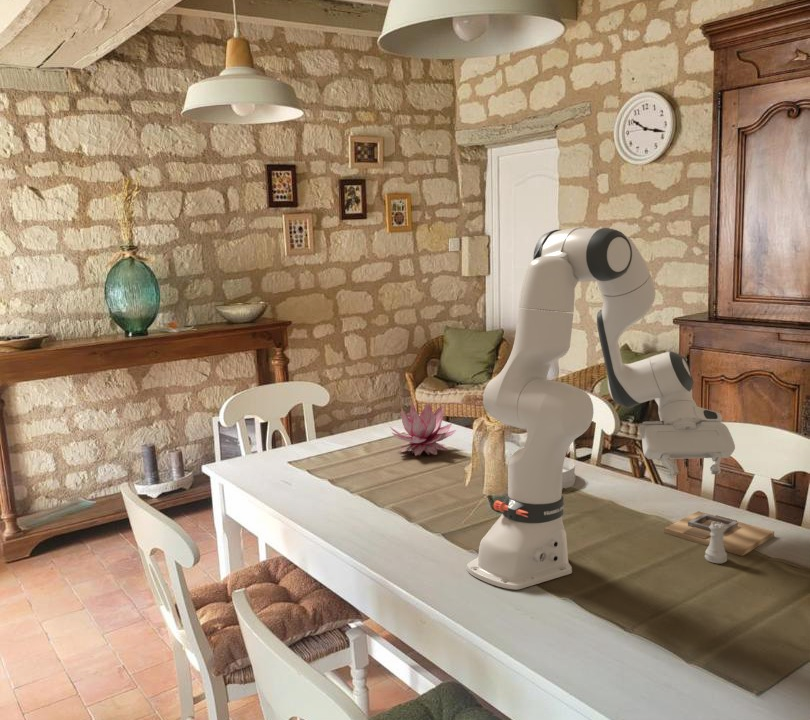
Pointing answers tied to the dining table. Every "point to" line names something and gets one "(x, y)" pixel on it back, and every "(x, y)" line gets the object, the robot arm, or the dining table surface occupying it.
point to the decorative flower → (424, 430)
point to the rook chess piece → (716, 544)
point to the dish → (568, 473)
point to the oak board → (736, 535)
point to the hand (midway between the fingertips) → (695, 473)
